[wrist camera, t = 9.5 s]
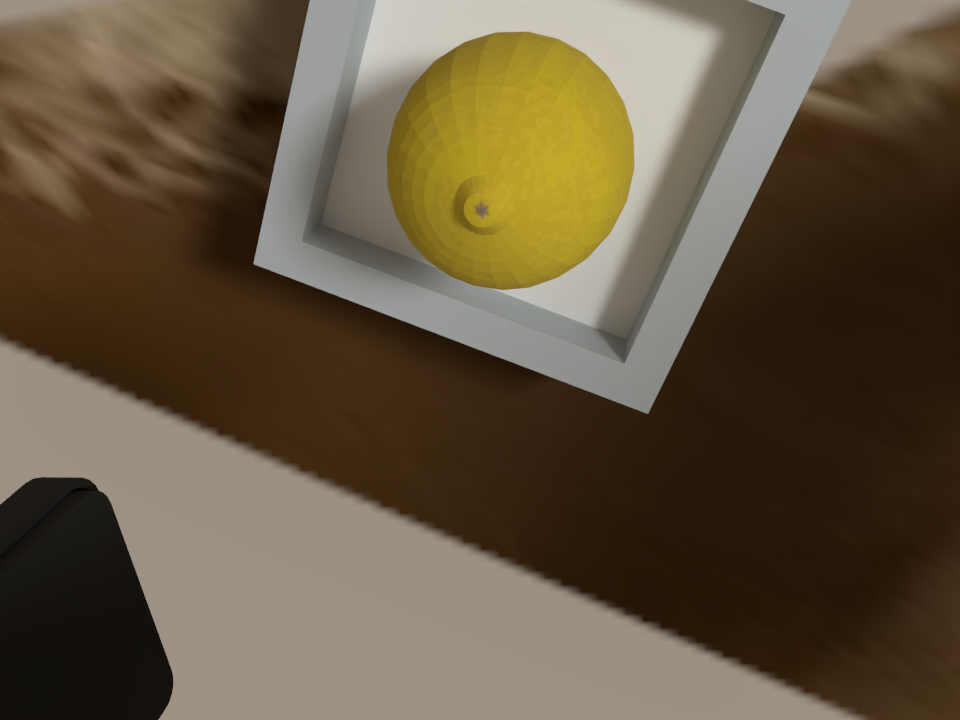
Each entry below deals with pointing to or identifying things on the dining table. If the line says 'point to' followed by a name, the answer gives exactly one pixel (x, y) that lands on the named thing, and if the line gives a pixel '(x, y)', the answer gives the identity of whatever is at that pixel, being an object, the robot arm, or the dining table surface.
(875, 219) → the dining table surface
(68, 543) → the robot arm
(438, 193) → the lemon
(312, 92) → the tray
